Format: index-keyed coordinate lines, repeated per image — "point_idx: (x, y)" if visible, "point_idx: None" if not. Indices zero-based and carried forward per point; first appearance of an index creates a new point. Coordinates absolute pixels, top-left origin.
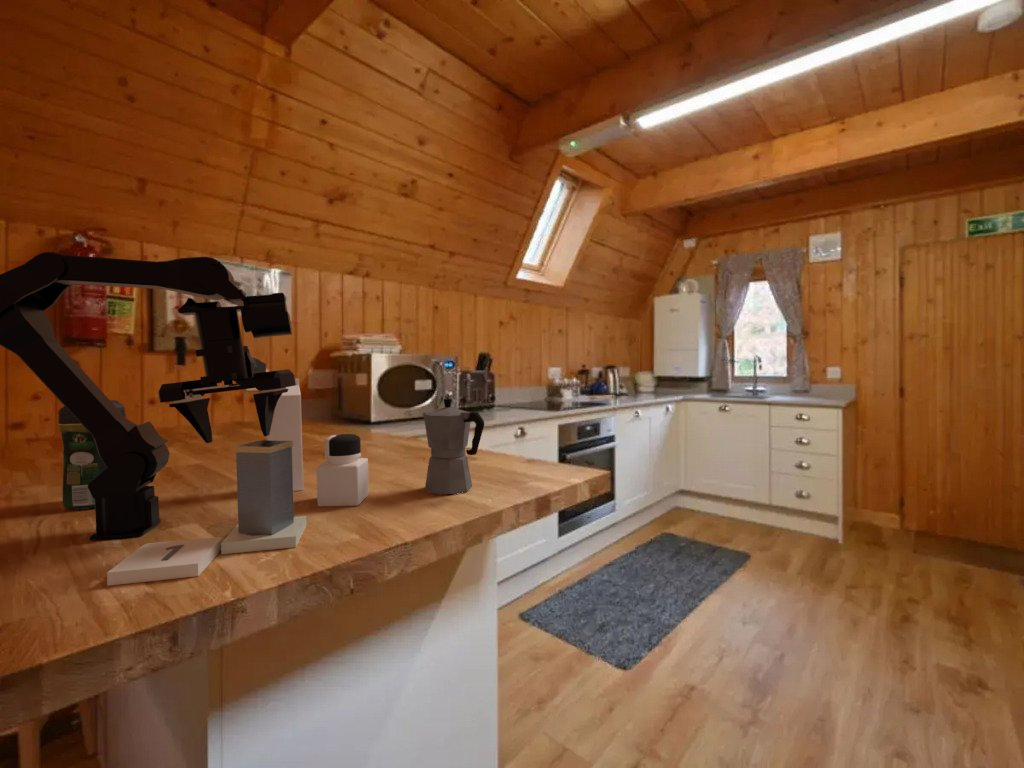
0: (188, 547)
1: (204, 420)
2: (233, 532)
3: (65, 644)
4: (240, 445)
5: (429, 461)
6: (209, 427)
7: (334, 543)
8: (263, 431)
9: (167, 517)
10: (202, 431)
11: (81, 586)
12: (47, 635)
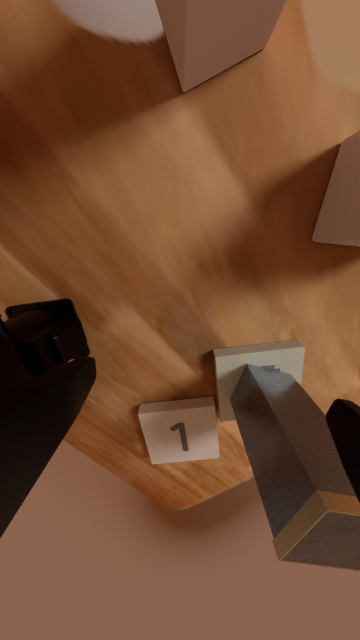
0: (191, 427)
1: (6, 468)
2: (222, 395)
3: (183, 501)
4: (289, 554)
5: None
6: (47, 402)
7: (331, 398)
8: (341, 446)
9: (58, 268)
10: (63, 437)
11: (132, 451)
12: (166, 495)
